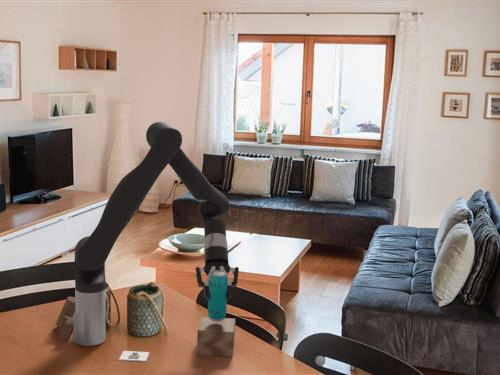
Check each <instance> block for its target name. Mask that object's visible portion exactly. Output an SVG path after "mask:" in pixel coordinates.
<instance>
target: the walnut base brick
mask: <svg viewBox="0 0 500 375" xmlns="http://www.w3.org/2000/svg"><path fill="white" fill-rule="evenodd" d="M235 336H236V318H230V317H229V318H228V317H225V318H224V320H222V321H212V320H210V318H209V316H201V317H200V319H199V324H198V328H197V336H196V337H197V339H196V341H197V342H196V356H210V357H211V356H213V357H228V358H229V357H231V358H233V356H234V348H235V339H236V338H235Z"/></svg>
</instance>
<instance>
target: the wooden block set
mask: <svg viewBox="0 0 500 375" xmlns="http://www.w3.org/2000/svg"><path fill="white" fill-rule="evenodd" d="M74 313H75V296H67V297H66V300H65V302H64V304H63V307H61V311H60V313H59V315H58V318H57V320H56V322H55V326H56V327H57V328H58V329H57V331H56V333H57V334H58V340H61V341H62V342H64V343H68V341H69V340H70V338H71V336H72V335H73V315H74Z"/></svg>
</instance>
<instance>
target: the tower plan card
mask: <svg viewBox="0 0 500 375" xmlns="http://www.w3.org/2000/svg"><path fill="white" fill-rule="evenodd" d="M149 355H150V351H133V350H123V351H122V352H121V355H120V356H119V358H118V361H125V362H127V361H128V362H129V361H130V362H145V363H146V362H147V361H148V357H149Z"/></svg>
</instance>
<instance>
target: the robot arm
mask: <svg viewBox="0 0 500 375" xmlns="http://www.w3.org/2000/svg"><path fill="white" fill-rule="evenodd" d="M145 138H146V142H147V145H149V147H150V148H149V150H148V151H147V153H146V155H145V157H144V158H143V159H142V160H141V162H140V163H139V164H138V165H137V166H135V167H134V168H133V169H131V170H130V171H129V172H128V173H127V174H126V175H124V176H123V177H122V178H121V180H120V181H119V182H118V183H117V185H116V187H115V188H114V190H113V191H112V193H111V195H110V196H109V198H108V201H107V203H106V205H105V206H104V210H103V211H102V214H101V217H100V219H99V222H98V224H97V225H96V227H95V228H94V230H93V231H92V233H91V234H90V235H89V236H85V237H82V238H81V239H80V240H78V242H76V244H75V247H74V285H75V289H74V291H75V293H74V294H75V295H74V298H75V313H74V315H73V332H72V335H73V344H77V345H81V346H85V347H92V346H97V345H101V344H102V343H104V342H105V341H106V334H107V333H106V332H107V331H106V298H107V297H106V295H107V294H106V286H107V285H106V284H107V283H106V282H107V281H106V279H107V278H106V267H105V266H106V262H107V259H108V258H109V255H110V253H111V251H112V249H113V248H114V245H115V244H116V242H117V240H118V238H119V236H120V234H121V233H122V232H123V231H124V230H125V228H126V227H127V226H128V224H129V223H130V221H131V220H132V218H133V217H134V215H135V214H136V212H138V209H139V208H140V206H141V205H142V203H143V202H144V201H145V198H146V197H147V195H148V193H149V192H150V191H151V189H152V187H153V186H154V185H155V182H156V181H157V179H158V178H159V176H160V175H161V173H162V172H163V171H164V169H165V168H166V167H167V166H168V165H169V166H170V168H171V169H172V170H173V171H174V173H175V174H176V175H177V177H178V178H179V180H180V181H181V182H182V184H183V185H184V187H185V188H186V189H187V190H188V192H189V193H190V195H191V197H193V198H194V199H195V200H197V201H200V202H199V203H198V206H197V207H198V208H197V209H198V213H199V216H200V218H201V223H202V225H203V228H204V230H203V231H204V244H203V246H204V247H203V251H204V252H203V253H204V266H203V267H200V266H196V267H195V271H194V273H195V278H196V282H197V287H198V288H203V295H204V296H203V297H204V299H206V301H208V300H209V276H210V272H211V271H214V270H222V271H225V272H227V277H228V285H227V301H229V300H230V299H232V295H233V288H236V287H237V284H238V278H239V272H240V271H239V266H236V267H231V265H230V264H229V249H228V248H229V247H228V241H227V231H226V230H227V228H226V227H227V226H226V223H225V222H224V221H223V220H222V219H217V218H218V217H222V216H224V215H226V214H228V213H229V212H230V209H231V205H230V201H229V199H228V198H227V196H226V195H225V194H224V193H222V191H221V190H218V189H217V188H216V187H215V186H213V185H212V184H211V183H210V182H209V180H208V179H207V177H206V176H205V174H204V173H203V172H202V171H201V170H200V169H199V168H198V166H197V165H196V164H195V163H194V162H193V161H192V160H191V159H190V158H189V157H188V156H187V154H186V153H185V151H183V149H182V148H181V146H182V144H183V135H182V133H181V131H180V130H179V129H178V128H176V127H174V126H172V125H171V124H170V123H166V122H164V121H155V122H154V123H153V122H152V123H151V124H150V125H149V126H148V127H147V130H146V133H145ZM203 272H204V273H205V275H206V279H205V282H204V281H203V278H202V275H203ZM229 273H231V275H232V276H233V279H232V281H231V280H230V276H229Z"/></svg>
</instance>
